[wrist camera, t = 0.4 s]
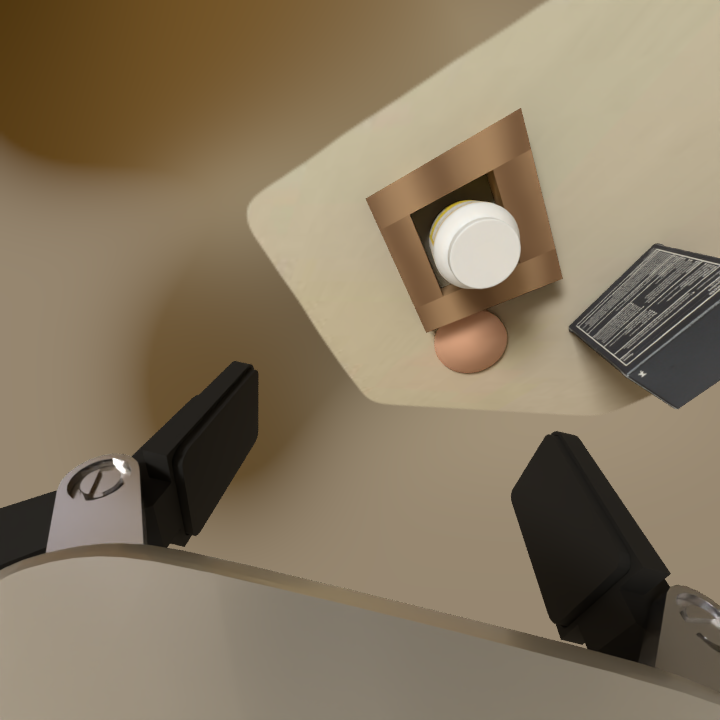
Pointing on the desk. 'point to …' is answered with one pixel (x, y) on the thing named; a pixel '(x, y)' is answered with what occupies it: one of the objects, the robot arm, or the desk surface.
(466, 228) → the pill bottle
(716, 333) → the small box
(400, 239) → the pocket holder
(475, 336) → the coaster
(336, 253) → the desk surface
